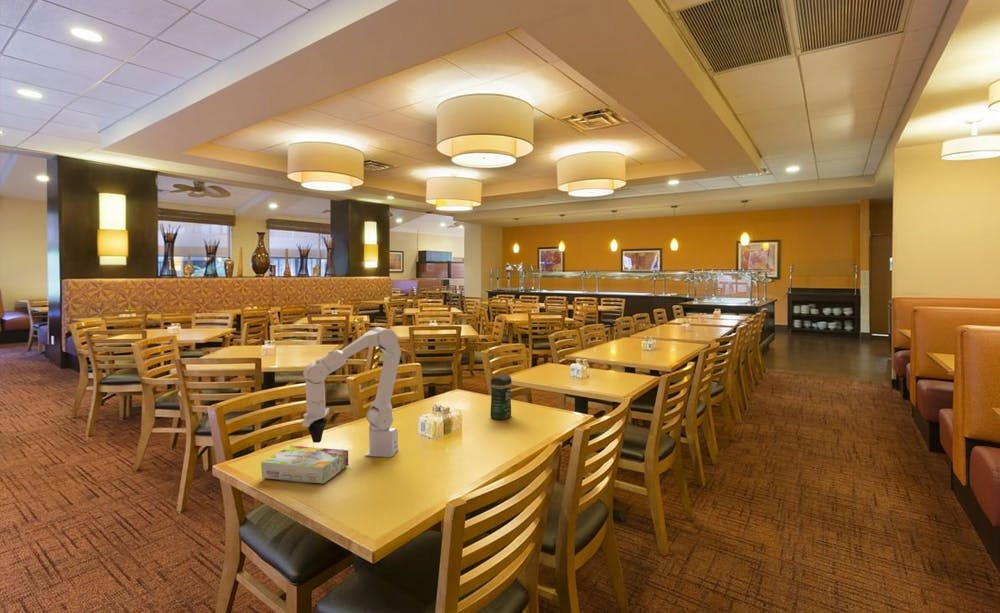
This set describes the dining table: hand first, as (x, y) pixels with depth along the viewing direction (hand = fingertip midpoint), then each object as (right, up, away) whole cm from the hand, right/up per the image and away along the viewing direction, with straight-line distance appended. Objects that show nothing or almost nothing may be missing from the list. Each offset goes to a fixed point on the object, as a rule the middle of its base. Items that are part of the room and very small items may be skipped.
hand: (317, 441), depth 158 cm
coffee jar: (+60, -5, +56) cm, 82 cm away
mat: (0, -9, -5) cm, 10 cm away
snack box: (0, -5, +3) cm, 6 cm away
